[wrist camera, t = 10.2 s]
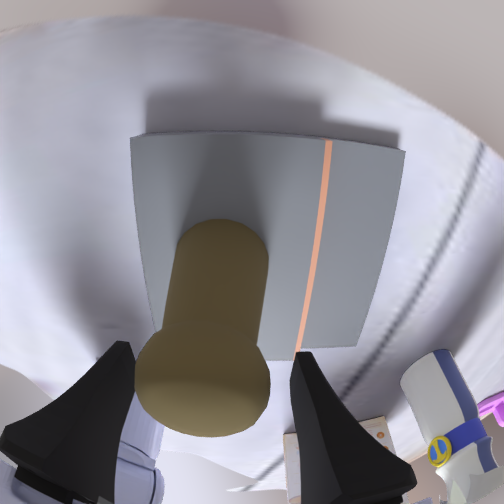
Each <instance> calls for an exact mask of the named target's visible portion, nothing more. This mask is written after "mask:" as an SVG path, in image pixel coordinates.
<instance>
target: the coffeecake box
mask: <svg viewBox="0 0 504 504" xmlns="http://www.w3.org/2000/svg"><path fill="white" fill-rule="evenodd" d="M359 424H360V425H361V426H362V427H363V428H364V429H365V430H366V431H367V432H368V433H369V434H370V435H372V436H373V437H374V438H375V439H376V440H377V441H378V442H379V443H381V444H382V445H383V446H384V447H385V448H387V449H388V450H389V451H391V452H392V453H393V454H395V455H396V452H395V449H394V446H393V442H392V439H391V436H390V433H389V429H388V426H387V423H386V420H385V417H384V416H381V417H378V418H374V419H370V420H366V421H362V422H359ZM283 446H284V461H285V475H286V487H287V498H288V504H301V476H300V455H299V445H298V439H297V433H291V434H283ZM402 497H403V502H402V503H400V504H409V501H408V496H407V492H406V493H405V494H403V495H402Z"/></svg>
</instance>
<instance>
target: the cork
mask: <svg viewBox="0 0 504 504" xmlns="http://www.w3.org/2000/svg"><path fill="white" fill-rule="evenodd" d="M268 268H269V256H268V253H267V250H266V247H265V244H264V242H263V241H262V240H261V239H260V237H259V236H258V235H257V234H256V232H254V231H253V230H251V229H250V228H248V227H247V226H245V225H244V224H242V223H239V222H236V221H232V220H229V219H209V220H206V221H203V222H200V223H198V224H195V225H194V226H193V227H191V228H190V229H189V230H187V231H186V232H185V233H184V234H183V236H182V237H181V239H180V241H179V242H178V244H177V247H176V252H175V257H174V262H173V267H172V272H171V277H170V283H169V288H168V294H167V299H166V305H165V311H164V317H163V323H162V329H161V330H159V331H158V332H156V333H154V334H153V336H152V337H151V338H150V339H149V341H148V342H147V343H146V345H145V346H144V348H143V349H142V351H141V352H140V354H139V356H138V359H137V361H136V364H135V385H134V388H135V391H136V394H137V397H138V400H139V402H140V404H141V405H142V407H143V409H144V410H145V411H146V412H147V413H148V414H149V415H150V416H151V417H152V418H153V419H155V420H156V421H158V422H159V423H161V424H163V425H164V426H166V427H168V428H170V429H172V430H175V431H178V432H180V433H183V434H188V435H193V436H198V437H222V436H228V435H232V434H235V433H238V432H242V431H244V430H246V429H248V428H249V427H251V426H253V425H254V424H255V422H256V421H257V420H258V418H259V417H260V416H261V414H262V413H263V412H264V410H265V409H266V407H267V404H268V400H269V396H270V385H271V383H270V371H269V369H268V366H267V364H266V361H265V359H264V357H263V355H262V353H261V351H260V349H259V347H258V346H257V341H258V334H259V328H260V322H261V315H262V309H263V302H264V296H265V289H266V283H267V276H268Z"/></svg>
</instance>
